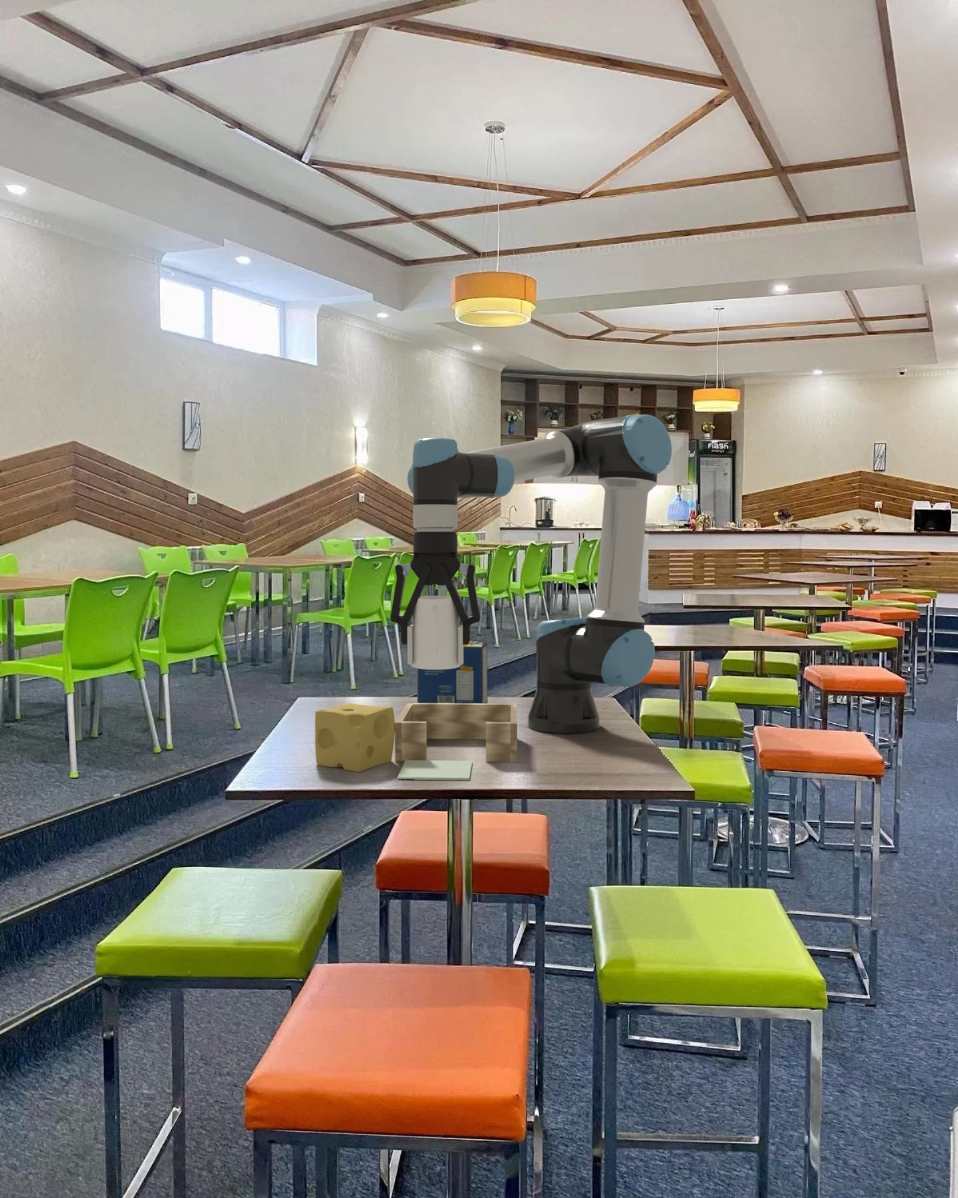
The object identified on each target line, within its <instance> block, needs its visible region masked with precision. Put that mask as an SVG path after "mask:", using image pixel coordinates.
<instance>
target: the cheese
mask: <svg viewBox="0 0 958 1198" xmlns="http://www.w3.org/2000/svg"><path fill="white" fill-rule="evenodd" d="M314 716H315V719H314V722H315V723H314V729H315V730H314V731H315V735H314V739H315V740H314V745H315V747H314V748H315V749H314V751H315V759H316V760H315V762H316V765H317V766H320V767H321V766H322V767H328V768H329V767H330V768H343V770H346V771H351V772H355V773H361V772H364V771H366V770H369V769H371V768H375V767H377V766H381V765H383V764H387V763H391V762H392V760H393V751H394V747H395V722H396V720H395V712H394V707H393V706H381V705H380V706H379V705H378V706H377V705H363V704H358V703H345V704H341V705H338V706H334V707H331V708H326V709H325V708H324V709H321V710H316V711H315V715H314Z"/></svg>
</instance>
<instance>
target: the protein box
mask: <svg viewBox="0 0 958 1198" xmlns="http://www.w3.org/2000/svg"><path fill="white" fill-rule="evenodd" d="M463 662H464V663H463V665H461V666H460V667H458V668H453V669H440V670H431V669H418V668H416V670H417V671H416V674H417V679H416V680H417V681H416V682H417V683H416V684H417V686H416V687H417V689H416V691H417V692H416V693H417V695H416V703H476V704H489V702H488V642H487V641H486V640H470V642H469V645H463Z"/></svg>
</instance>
